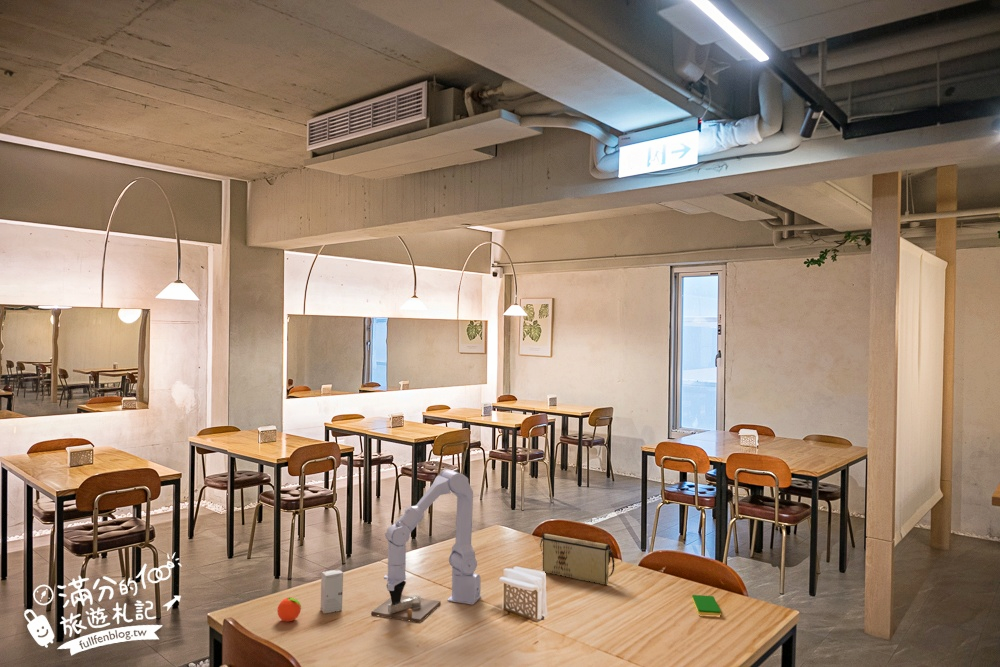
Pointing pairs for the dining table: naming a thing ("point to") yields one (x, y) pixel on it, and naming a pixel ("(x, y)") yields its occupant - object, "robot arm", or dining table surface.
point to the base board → (408, 610)
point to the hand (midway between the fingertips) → (395, 605)
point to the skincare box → (331, 591)
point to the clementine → (289, 609)
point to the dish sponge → (706, 605)
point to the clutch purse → (576, 558)
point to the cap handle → (404, 604)
